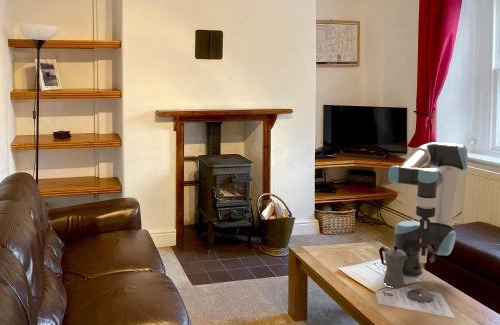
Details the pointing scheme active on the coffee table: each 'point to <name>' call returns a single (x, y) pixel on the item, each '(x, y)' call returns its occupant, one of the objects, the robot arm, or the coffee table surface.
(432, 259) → the pottery mug
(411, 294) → the disc
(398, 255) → the coffeepot
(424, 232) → the robot arm
